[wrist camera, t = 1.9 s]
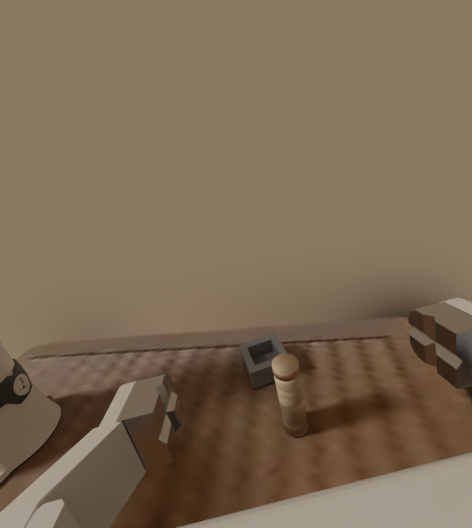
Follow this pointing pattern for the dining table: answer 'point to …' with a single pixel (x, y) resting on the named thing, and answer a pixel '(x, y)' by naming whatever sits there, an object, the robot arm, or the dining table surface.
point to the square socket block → (261, 359)
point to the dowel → (290, 394)
